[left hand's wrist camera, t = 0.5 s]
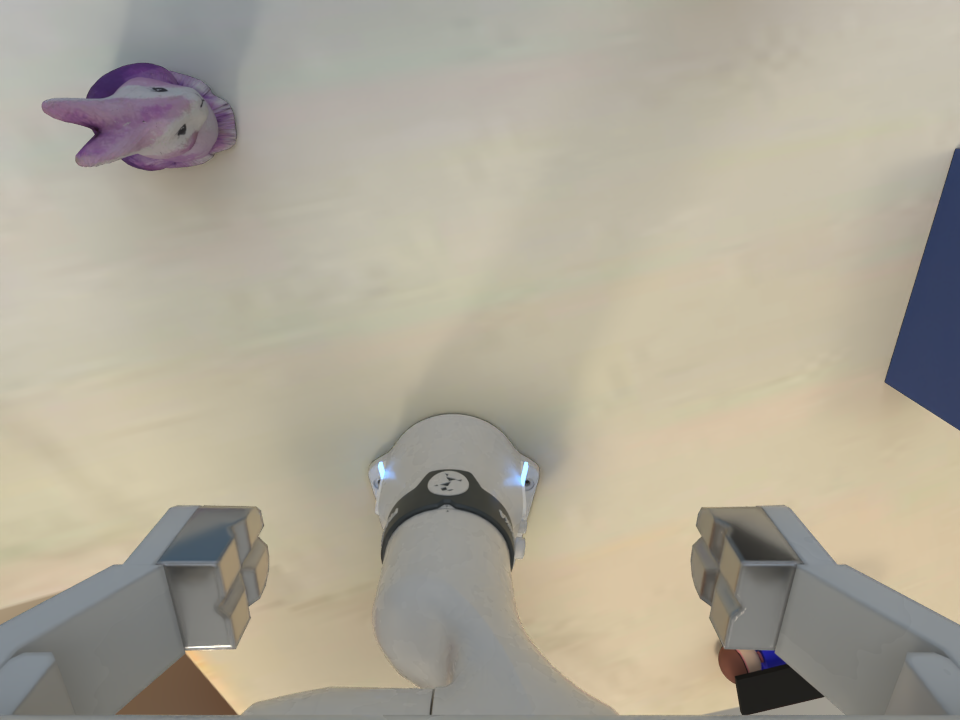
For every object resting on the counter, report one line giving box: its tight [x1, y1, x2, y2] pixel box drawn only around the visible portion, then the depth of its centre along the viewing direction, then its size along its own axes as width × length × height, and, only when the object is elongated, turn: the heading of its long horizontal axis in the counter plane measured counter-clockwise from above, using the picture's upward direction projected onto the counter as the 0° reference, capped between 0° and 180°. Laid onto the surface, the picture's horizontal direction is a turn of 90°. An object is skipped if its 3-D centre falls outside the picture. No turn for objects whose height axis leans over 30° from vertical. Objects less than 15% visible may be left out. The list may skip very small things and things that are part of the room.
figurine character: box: [718, 647, 825, 715], centre depth 70 cm, size 7×8×15 cm
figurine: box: [42, 63, 236, 171], centre depth 43 cm, size 9×10×15 cm
